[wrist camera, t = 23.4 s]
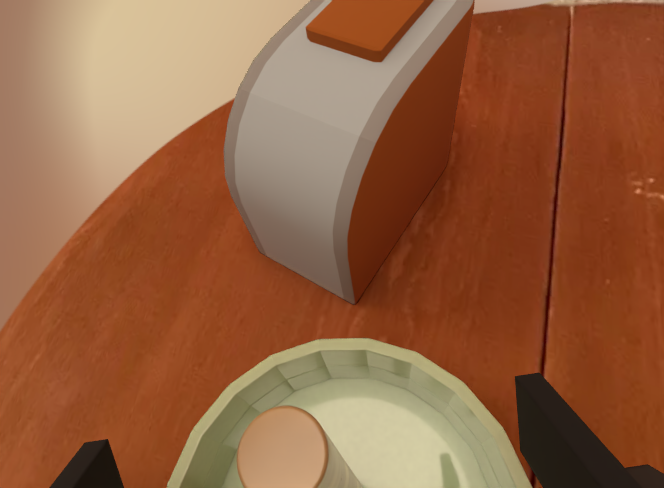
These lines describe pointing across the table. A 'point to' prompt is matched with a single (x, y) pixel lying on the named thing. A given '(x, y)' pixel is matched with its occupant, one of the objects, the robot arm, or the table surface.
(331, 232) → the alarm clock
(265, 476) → the stick
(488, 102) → the table surface
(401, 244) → the table surface
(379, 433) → the bowl
